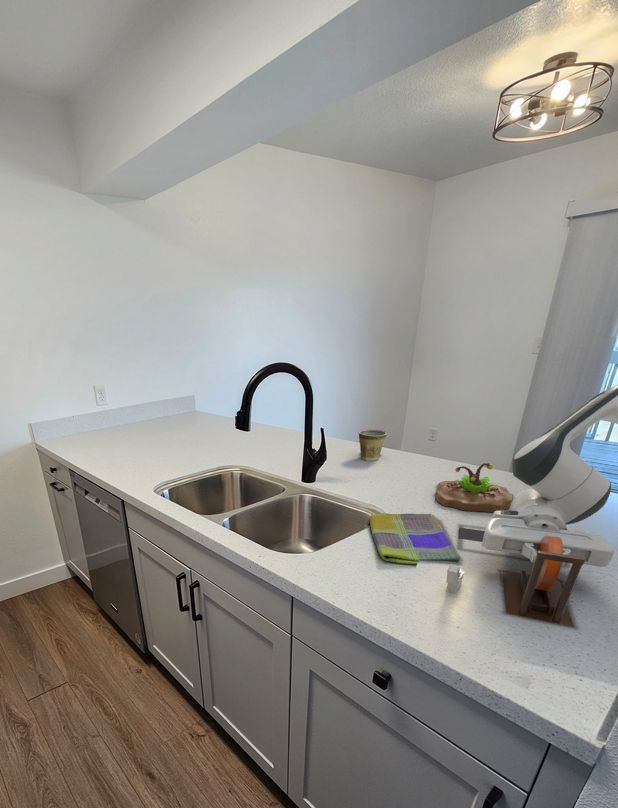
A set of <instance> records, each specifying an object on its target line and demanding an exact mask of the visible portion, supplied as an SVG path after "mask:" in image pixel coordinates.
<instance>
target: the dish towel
mask: <svg viewBox="0 0 618 808" xmlns="http://www.w3.org/2000/svg"><path fill="white" fill-rule="evenodd" d="M368 520H369V526H370V531H371V535H372V538H373V541H374V543H375V546H376V549H377V552H378V553H379V555H380V557H381V558H382V559H383V560H384V561H387V562H392V563H396V564H397V563H398V564H403V565H404V564H406V565H418V562H419V561H423V562H425V561H426V562H456V561H460V559H461V556H460V555H459V553H458V552H457V550H456V549H455V547H454V545H453V544H452V542H451V541H450V540H449V539H448V537H447V536H446V533H445V532H444V531H443V528H442V526H441V523H440V521H439V519H438V518H437V517H436V515H434V514H432V513H386V512H379V513H374V514H372V515H370V516H369V518H368Z"/></svg>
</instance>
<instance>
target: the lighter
mask: <svg viewBox="0 0 618 808" xmlns="http://www.w3.org/2000/svg"><path fill="white" fill-rule="evenodd" d="M464 574H465V571H464V570H462V569H461V568H460V567H458V566H454V565H449V566H448V569H447V571H446V584H447V585H446V589H445V592H448V593H450V594H453V595H456V594H457V592H458V590H459V589H460V587H461V585H462V582H463V578H464Z"/></svg>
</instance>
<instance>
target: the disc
mask: <svg viewBox="0 0 618 808" xmlns="http://www.w3.org/2000/svg"><path fill="white" fill-rule="evenodd" d="M537 551H544V552H551V553H557V554H563V543H562V540H561V538H559V537H553V536H544V537H543V538H542V540H541V544H539V547H538V550H537ZM561 563H562V562H559V561H552V560H546V559H545V561H544V564H543V566H542V569H541V572H540V575H539V578H538V581H537V584H536V587H535V589H538V590H544V591H550V590H551V589H552V588H553V587H554V585H555V583H556V581H558V579H559V575H560V571H561V568H562V567H561ZM532 564H533V565H532V567H533V566H534V563H532Z"/></svg>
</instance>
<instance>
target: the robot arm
mask: <svg viewBox="0 0 618 808" xmlns="http://www.w3.org/2000/svg"><path fill="white" fill-rule="evenodd" d="M599 421H602V422H608V423H612V424H615V425H618V384H617V385H614V386H611V387H609V388H607V389H605V390H603V391H602V392H600V393H598V394H597V395H595V396H593V397H591V398H590V399H589V400H588V401H586V402H585V403H584V404H582V405H581V406H579V407H578V408H576V409H575V410H574V411H573V412H571V413H570V414H569V415H567V416H566V417H565V418H564V419H562V420H560V421H559V422H558V423H557V424H555V425H554V426H552V427H551V428H550V429H549V430H547V431H546V432H545V433H543V434H542V435H540V436H539V437H537V438H536V439H534V440H532V441H530V442H529V443H527V444H525V445H524V446H523V447H521V449H520V450H518V452H517V453H515V455H514V456H513V457H512V461H511V462H512V463H511V469H512V475H513V477H515V478H516V479H517V480H519V481H520V482H522V483H523V484H525V485H526V486H529V487H530V488H525V489H522V490H521V491H520V492H518V493H517V494H516V495H515V496H514V497H513V499H512V503H511V506H510V507H509V510H503V511H495V512H494V513H493V512H492V516H491V518H490V519H489V520H488V521H487V523H486V525H485V529H484V531H485V532H484V536H483V541H482V542H481V547H482V548H484V549H486V550H490V551H496V552H503V553H509V554H510V553H511V554H516V555H522V556H524V557H525V558H527V559H529V560H530V563H532V564H533V563H535V560H536V557H537V556H536V555H537V552H538V551H537V550H538V547H539V544H541V540H542V538H543V537H544V536H553V537H559V538H561V540H562V543H563V554H564V555H571V556H578V557H584V559H585V561H584V564H583V565H587V566H588V565H589V566H594V567H602V568H603V567H607V566H609V565H610V563H611V562H612V560H613V557H614V554H615V549H614V547H613V546H612V544H610V542H609V541H608V540H607V539H606V538H604V537H603V536H602V535H599V534H596V533H592V532H586V531H579V530H578V531H577V530H570V529H568V527H567V525H572V524H576V523H579V522H582V521H584V520H586V519H588V518H590V517H592V516H593V515H595V514H596V513H598V512H599V511H600V510H601V509H603V508H604V506H605V505H606V503H607V502H608V499H609V497H610V494H611V491H612V482H611V480H609V479H608V478H607V477H606V476H605V475H603V474H602V473H601V472H600V471H599V470H598V469H596V468H595V467H594V466H593V465H590V464H589V463H588V462H587V461H586V460H584V459H583V458H582V457H580V456H579V455H578V454H577V453H576V452H574V451H573V450H572V448H571V442H572V441H573V440H574V439H576V438H577V437H578V436H580V435H581V434H583V433H585V431H587V430H588V429H590V428H591V427H592V426H594V425H595V424H596V423H598V422H599ZM565 566H566V563H565V562H562V563H561V568H562V569H564V568H565Z"/></svg>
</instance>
